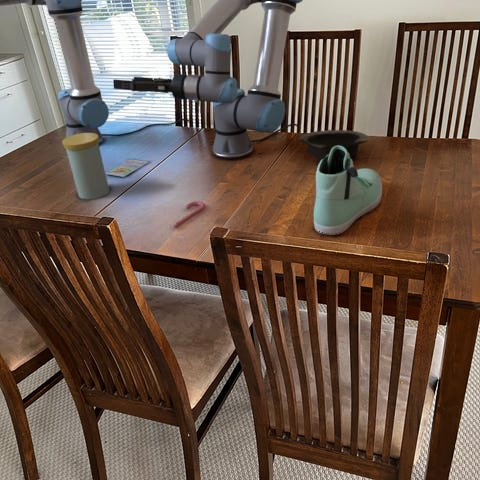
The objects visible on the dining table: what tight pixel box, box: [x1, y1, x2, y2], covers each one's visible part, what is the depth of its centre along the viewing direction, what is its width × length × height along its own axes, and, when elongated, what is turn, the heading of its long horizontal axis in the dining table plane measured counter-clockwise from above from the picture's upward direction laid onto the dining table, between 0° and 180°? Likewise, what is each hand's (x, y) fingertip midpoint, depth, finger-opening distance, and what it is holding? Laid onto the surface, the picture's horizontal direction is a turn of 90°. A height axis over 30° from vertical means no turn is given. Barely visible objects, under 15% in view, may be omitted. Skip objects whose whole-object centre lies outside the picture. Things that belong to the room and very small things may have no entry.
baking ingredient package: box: [105, 158, 149, 178], centre depth 177 cm, size 9×1×15 cm
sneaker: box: [313, 146, 383, 236], centre depth 133 cm, size 14×35×20 cm, turn 152°
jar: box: [65, 144, 110, 200], centre depth 156 cm, size 10×10×18 cm
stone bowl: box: [297, 129, 371, 164], centre depth 171 cm, size 25×25×9 cm
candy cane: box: [173, 200, 207, 229], centre depth 142 cm, size 6×15×2 cm, turn 145°
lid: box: [61, 133, 99, 150], centre depth 152 cm, size 11×11×2 cm
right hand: (124, 82), depth 153 cm, fingers open, 13 cm apart
